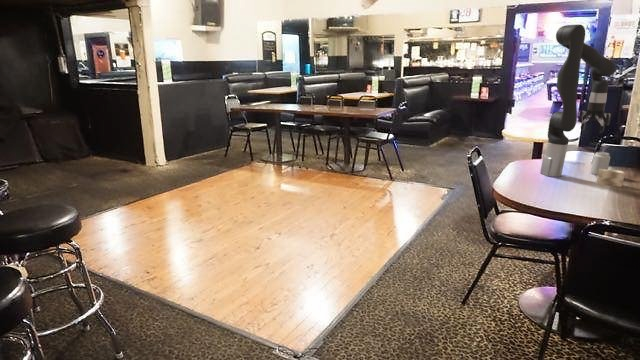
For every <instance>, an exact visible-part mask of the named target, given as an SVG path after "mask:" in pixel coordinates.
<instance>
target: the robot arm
mask: <svg viewBox="0 0 640 360" xmlns="http://www.w3.org/2000/svg"><path fill="white" fill-rule="evenodd" d="M555 39H556V42H557V43H558V44H559V45H560V46H562V47H564V48H566V49H567V50H568V55H567V57H566V59H565V61H564V62H563V64H562V65H561V67H560V69H559V70H558V73H557V79H556V89H557V92H558V94H559V97H560V99H561V103H562V111H556V112H554V113H552V115H551V116H550V118H549V121H548V129H547V139H548V140H547V146H546V149H545V150H546V151H545V155H543V156H542V157H543V158H542V161H541V166H540V167H541V168H540V172H539V173H540V174H542V175H544V176H546V177H552V178H553V177H554V178H561V177H562V174H563V170H564V165H565V162H566V161H565V159H566V155H567V151H568V146H569V145H568V144H569V138H568V137H567V136H566V135H565V132H566V133H567V132H568V133H569V132H571V131H573V130H574V128H575V127H576V125H577V122H578V123H581V125H580V130H581V131H585V129H586V123H587V122H588V121H596V122H597V121H598V123H599V124H600V126H599V130H598V131H599V132H598V133H599V134H601V133H603V132H604V131H605V126H609V125H610V122H611V115H612V114H611V113H605V110H606V109H605V108H606V103H607V97H608V96H607V95H608V90H609V82H608V81H607V80H604V79H603V77H611V76H614V74H615V73H616V71H617V66H616V64H615V63H614V62H613V61H612V60H610V59H608V58H607V57H605V56H603V55H602V54H601V52H599V50H597V49H596V48H594V47H593V46H592V45H589V44H587V43H585V39H586V29H585V26H584V25H583V24H567V25H563V26H560V27H558V29H557V31H556V34H555ZM581 61H583V62H584V63H585V64H586V65H587V66H588V67H590V68H591V71H590V73H591V82H592V86H591V92H590V94H589V95H590V96H589V100H588V104H587V110H586V111H585V110H581V111H579V115H578V113H577V111H578V110H577V103H578V88H579V80H580V68H581ZM584 116H586V117H585V118H584ZM577 117H578V119H577ZM603 117H604V118H605V121H604V118H603ZM583 119H584V120H583Z"/></svg>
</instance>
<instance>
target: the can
mask: <svg viewBox="0 0 640 360" xmlns="http://www.w3.org/2000/svg"><path fill="white" fill-rule="evenodd" d="M610 160H611V156H610V153H609V152H604V151H603V152H602V151H597V152H595V154H593V157H592V162H591V167H590V170H589V172H590V173H591V175H594V176H596V177H597V176H598V172H599V169H606V170H609V166H610Z"/></svg>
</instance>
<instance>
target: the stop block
mask: <svg viewBox="0 0 640 360" xmlns="http://www.w3.org/2000/svg"><path fill="white" fill-rule="evenodd" d="M625 176H626V173H625V172H624V171H623V170H613V169H608V170H606V169H599V172H598V176H597V175H596V177H597V178H596V181H595V182H596V184H597V185H602V186H608V187H609V186H611V187H612V186H613V187H623V182H624V179H625Z"/></svg>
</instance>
